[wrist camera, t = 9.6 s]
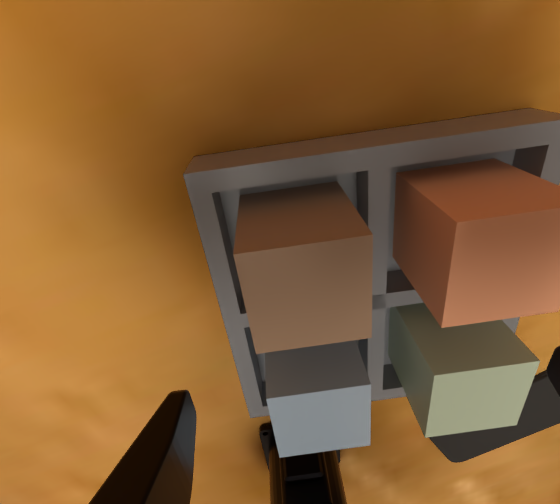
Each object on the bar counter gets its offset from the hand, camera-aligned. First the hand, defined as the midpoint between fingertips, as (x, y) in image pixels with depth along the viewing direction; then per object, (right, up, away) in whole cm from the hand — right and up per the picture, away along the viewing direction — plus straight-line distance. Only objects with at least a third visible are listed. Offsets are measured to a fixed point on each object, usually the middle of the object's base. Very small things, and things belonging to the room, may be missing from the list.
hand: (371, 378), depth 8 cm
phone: (+18, -11, +22) cm, 30 cm away
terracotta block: (+6, +5, +10) cm, 13 cm away
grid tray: (+3, +2, +13) cm, 13 cm away
